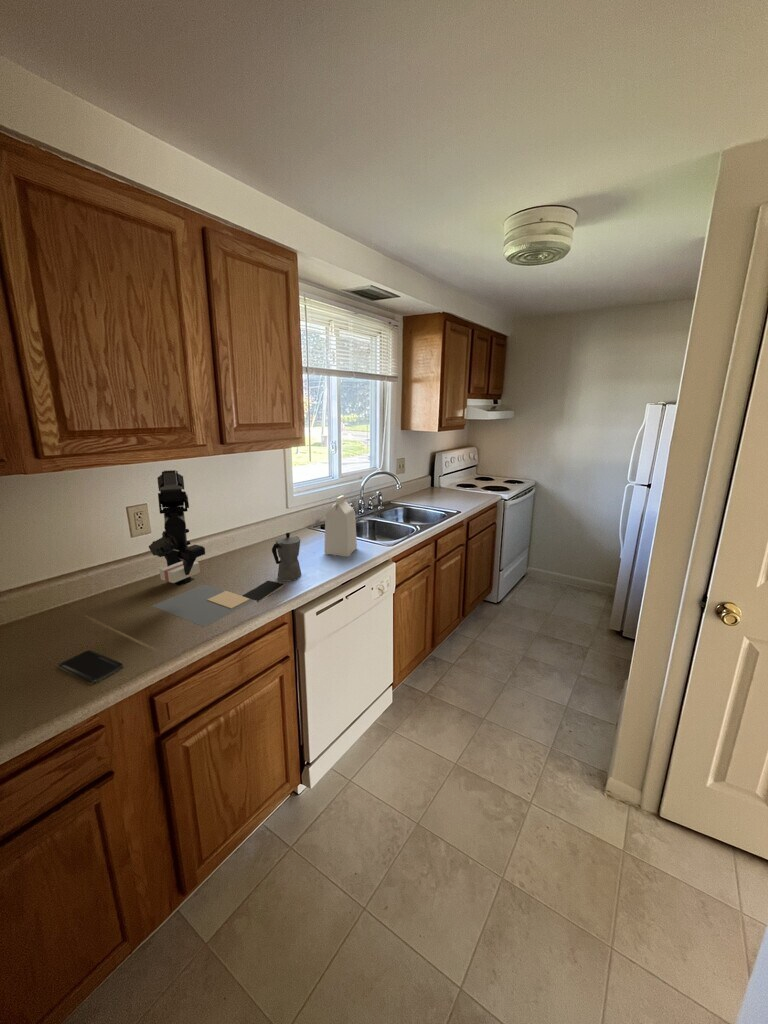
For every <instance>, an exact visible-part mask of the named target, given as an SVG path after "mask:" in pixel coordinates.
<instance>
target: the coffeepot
mask: <svg viewBox="0 0 768 1024" xmlns="http://www.w3.org/2000/svg"><path fill="white" fill-rule="evenodd" d="M290 535H291V533H290V532H286V533H285V536H284V537H280V538H279V537H278V538H277V540H275V543H273V546H272V548H271V552H272V554H273V558H274V561H275V563H276V565H278V571H277V578H278V579H279V580H280V579H281V581H283V580H292V581H295V580H294V579H296V580H298V579H300V578H301V576H302V571H301V567H300V561H299V558H298V557H299V555H300V545H301V538H300V536H295V535H294V536H290Z"/></svg>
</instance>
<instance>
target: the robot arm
mask: <svg viewBox="0 0 768 1024" xmlns="http://www.w3.org/2000/svg"><path fill="white" fill-rule="evenodd" d="M184 481H185V480H184V476H183V475H181V474H180V473H178V470H176V469H175V470H173V469H172V470H171V469H170V470H163V471H162V472H161V474H160V475H159V476H158V477H157V488H158V491H159V492H158V493H157V495H158V496H157V499H158V507H159V514H160V515H161V514H163V519H164V522H163V523H164V527H163V528H164V531H162V533H161V535H162V537H160V538H158V539H156V540H153V541H152V543H151V544H150V545H148V549H149V550H150V552H151V554H152V556H156V557H159V558H162V557H163V558H164V559H165V561H166V565H167V566H170V565H173V564H176V563H178V562H181V561H183V566H184V571H185V575H189V573H190V571H191V568H192V566H193V564H194V562H196V560H197V558H199V557H201V556H202V557H203V556H204V555H206V548H205V546H203V545H198V544H193V545H192V544H191V541H190V540H188V537H187V534H188V533H189V532H190V529H189V528H187V524H186V517H185V512H188V509H189V508H190V505H189V497H188V496H189V495H188V494H187V492H186V491H184V490H185V482H184ZM189 545H190V546H189ZM167 566H166V567H167ZM192 581H195V578H193V577H192V576H190V577H187V578H185V579H183V580H180V581H178V582H175V583H173V584H174V585H178V586H182V585H184V584H186V583H190V582H192Z"/></svg>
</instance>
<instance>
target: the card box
mask: <svg viewBox="0 0 768 1024" xmlns="http://www.w3.org/2000/svg"><path fill="white" fill-rule="evenodd" d="M200 572H201V570H200V562H198V561H195V562H194V564H193V566H192V568H191V571H190V573H189V575H185V571H184V566H183V561H181V562H178V563H176V564H173V565H170V566H165V567H162V568H159V576H160V580H161V581H165V582H167V583H171V584H174V583H175V582H178V581H180V580H183V579H185V578H187V577H190V576H191V577H192V576H194V575H197V574H199V573H200Z"/></svg>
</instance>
